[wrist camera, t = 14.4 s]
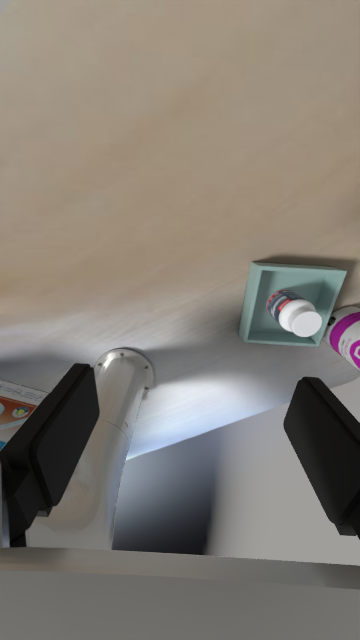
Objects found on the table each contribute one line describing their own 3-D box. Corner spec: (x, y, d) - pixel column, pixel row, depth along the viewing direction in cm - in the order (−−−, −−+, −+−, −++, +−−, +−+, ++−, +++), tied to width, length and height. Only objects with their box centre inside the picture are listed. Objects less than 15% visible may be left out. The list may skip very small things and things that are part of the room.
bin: (306, 336, 40) (318, 347, 36) (237, 332, 40) (243, 342, 36) (330, 266, 34) (347, 271, 31) (251, 262, 34) (258, 265, 31)
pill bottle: (273, 285, 35) (299, 301, 27) (301, 292, 36) (335, 311, 28) (260, 312, 37) (281, 336, 29) (287, 319, 38) (315, 344, 30)
